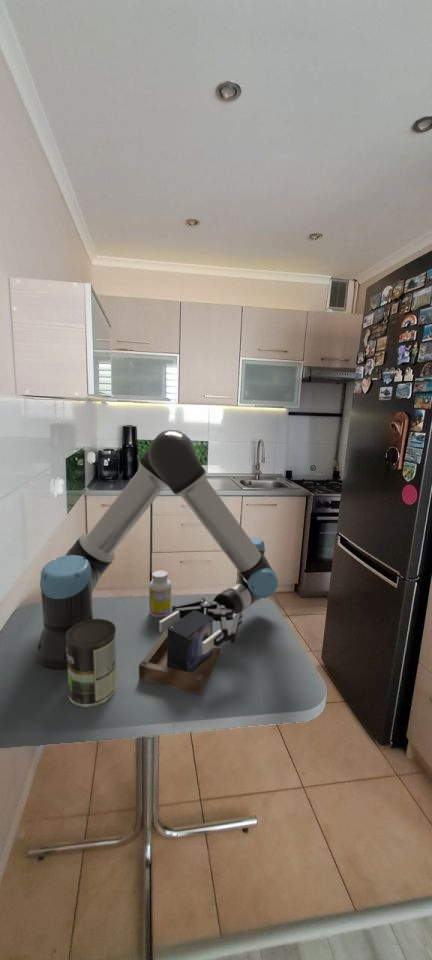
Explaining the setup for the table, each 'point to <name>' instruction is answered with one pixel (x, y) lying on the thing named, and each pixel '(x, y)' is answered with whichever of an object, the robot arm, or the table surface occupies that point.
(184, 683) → the corner tray
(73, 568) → the robot arm
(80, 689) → the coffee can
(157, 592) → the supplement bottle
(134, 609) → the table surface
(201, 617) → the small box
